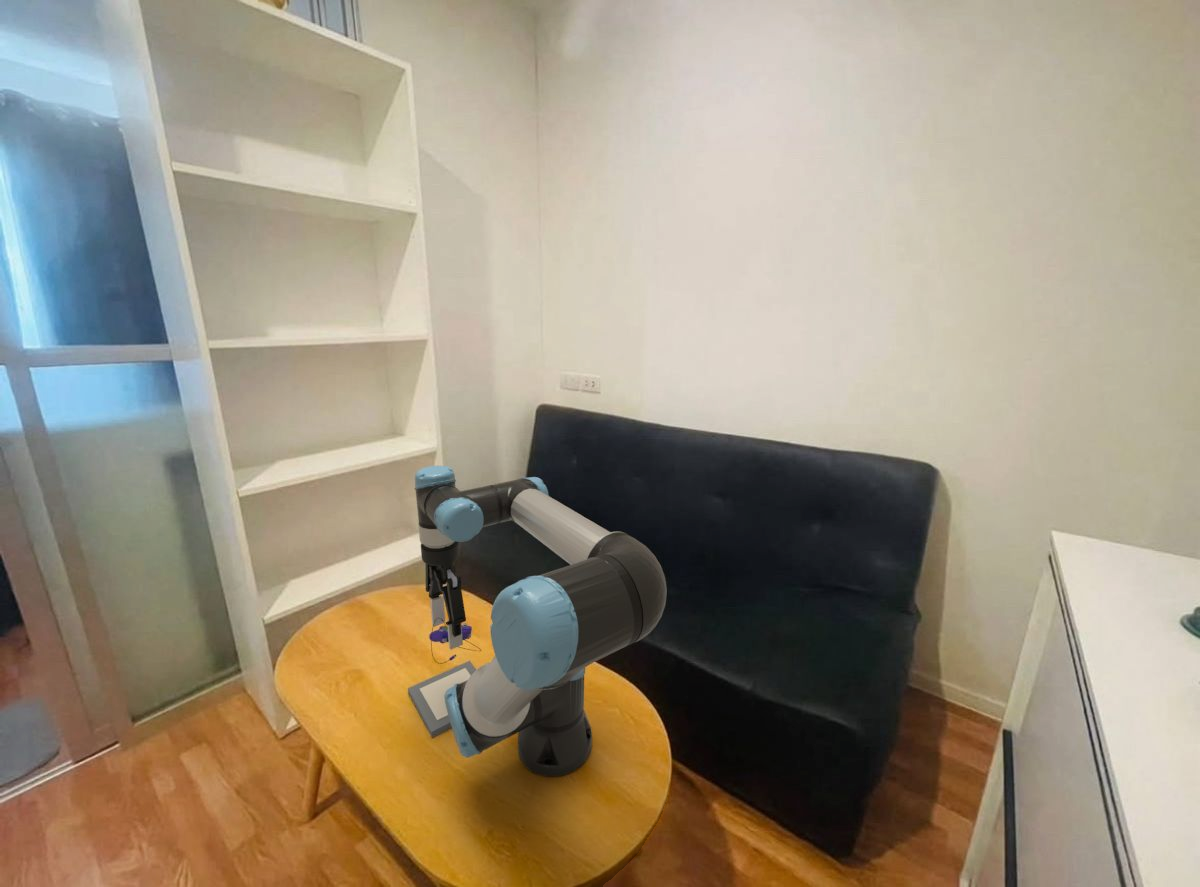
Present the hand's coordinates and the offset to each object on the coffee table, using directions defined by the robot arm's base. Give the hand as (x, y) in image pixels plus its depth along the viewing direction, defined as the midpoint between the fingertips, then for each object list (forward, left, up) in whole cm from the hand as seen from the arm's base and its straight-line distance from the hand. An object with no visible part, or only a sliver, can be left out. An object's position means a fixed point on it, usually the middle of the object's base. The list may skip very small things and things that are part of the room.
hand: (447, 634), depth 106 cm
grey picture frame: (0, 0, -17) cm, 17 cm away
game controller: (-2, -1, -4) cm, 4 cm away
